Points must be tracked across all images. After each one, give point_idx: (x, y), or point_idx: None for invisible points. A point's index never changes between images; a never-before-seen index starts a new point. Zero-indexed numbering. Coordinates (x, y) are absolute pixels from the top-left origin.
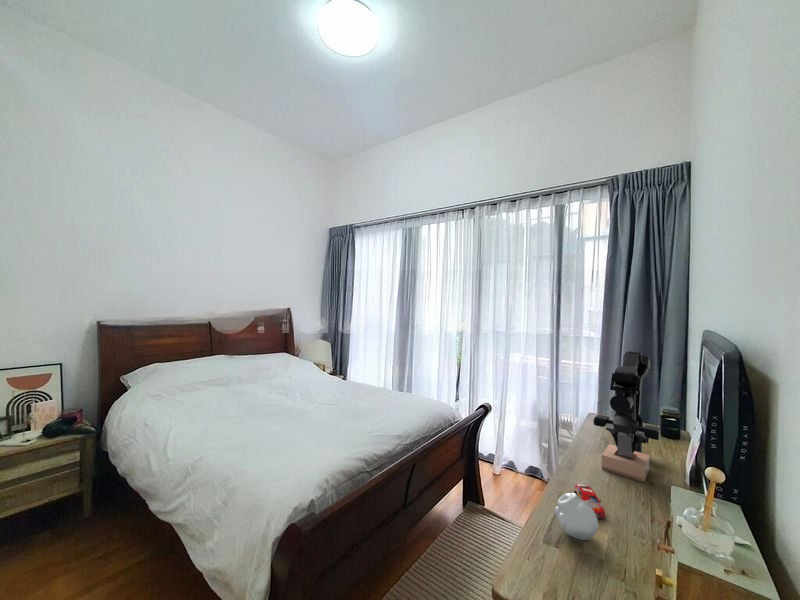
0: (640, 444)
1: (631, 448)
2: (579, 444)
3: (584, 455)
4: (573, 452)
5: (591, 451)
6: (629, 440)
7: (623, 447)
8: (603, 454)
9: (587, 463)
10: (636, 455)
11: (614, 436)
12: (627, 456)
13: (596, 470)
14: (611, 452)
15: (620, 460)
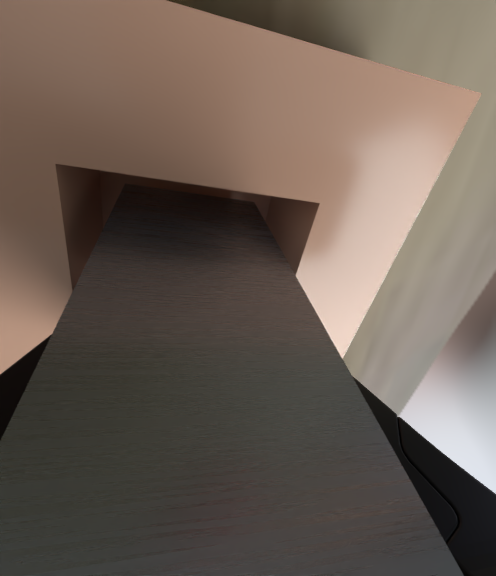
0: None
1: (64, 311)
2: (410, 379)
3: (430, 268)
4: (487, 268)
5: (370, 344)
6: (49, 529)
7: (223, 303)
8: (453, 122)
9: (459, 137)
10: None
11: (446, 488)
12: (161, 229)
13: (430, 7)
14: (332, 258)
15: (249, 28)
